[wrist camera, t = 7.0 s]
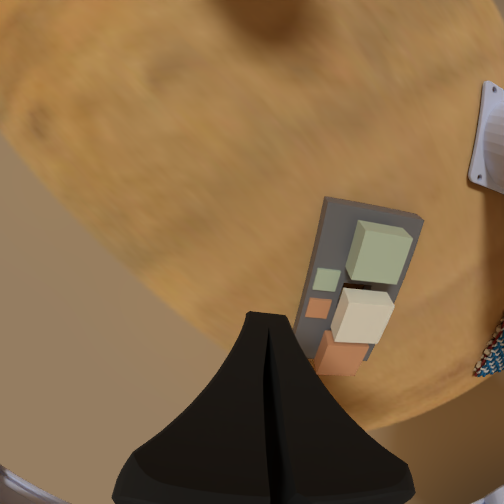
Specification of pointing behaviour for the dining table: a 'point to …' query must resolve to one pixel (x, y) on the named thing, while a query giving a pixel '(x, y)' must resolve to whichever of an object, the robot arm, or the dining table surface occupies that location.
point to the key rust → (338, 356)
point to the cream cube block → (361, 316)
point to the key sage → (378, 252)
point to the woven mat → (492, 354)
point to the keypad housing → (342, 265)
